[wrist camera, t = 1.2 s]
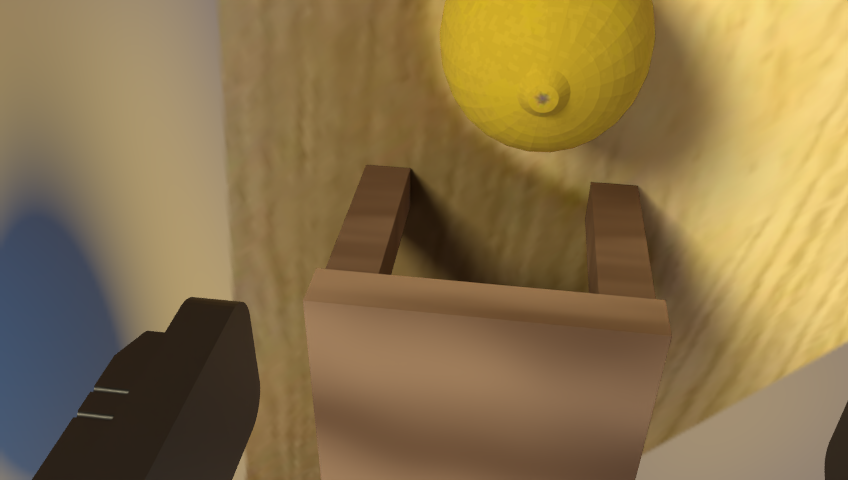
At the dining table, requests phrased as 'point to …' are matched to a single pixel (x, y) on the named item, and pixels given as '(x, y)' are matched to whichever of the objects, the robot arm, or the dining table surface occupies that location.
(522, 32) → the lemon
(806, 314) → the dining table surface
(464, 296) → the stool
